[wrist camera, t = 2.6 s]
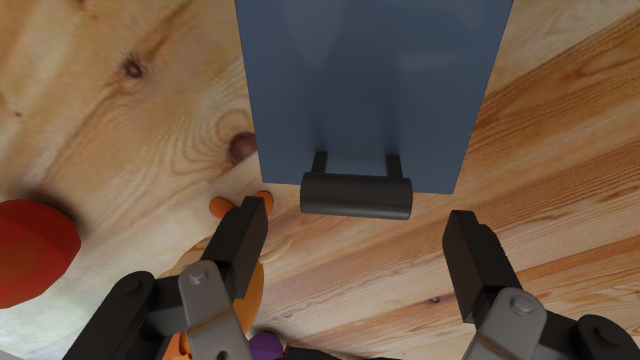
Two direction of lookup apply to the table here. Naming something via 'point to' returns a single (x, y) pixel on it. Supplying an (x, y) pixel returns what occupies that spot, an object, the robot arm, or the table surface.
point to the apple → (33, 249)
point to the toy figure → (246, 309)
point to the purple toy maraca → (266, 347)
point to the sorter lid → (367, 95)
